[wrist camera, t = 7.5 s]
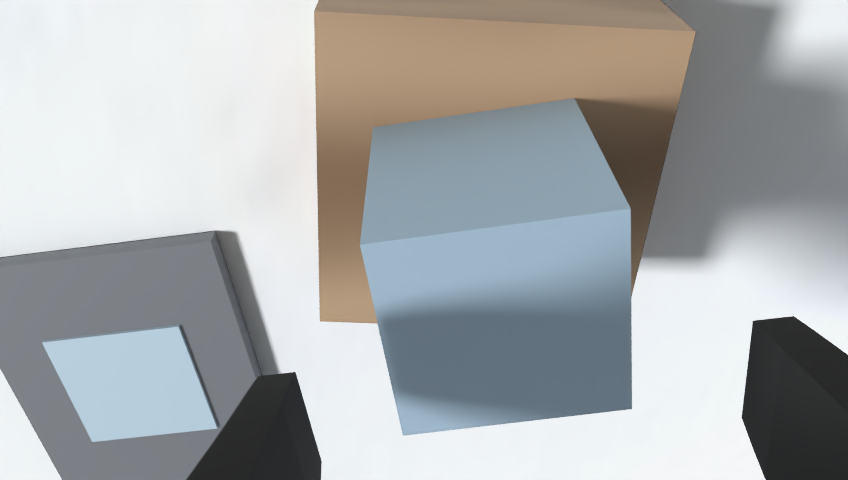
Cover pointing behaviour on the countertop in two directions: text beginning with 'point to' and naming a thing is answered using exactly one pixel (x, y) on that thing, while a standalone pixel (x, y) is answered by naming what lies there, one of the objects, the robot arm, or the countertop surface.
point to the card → (125, 354)
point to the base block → (485, 96)
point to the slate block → (498, 268)
